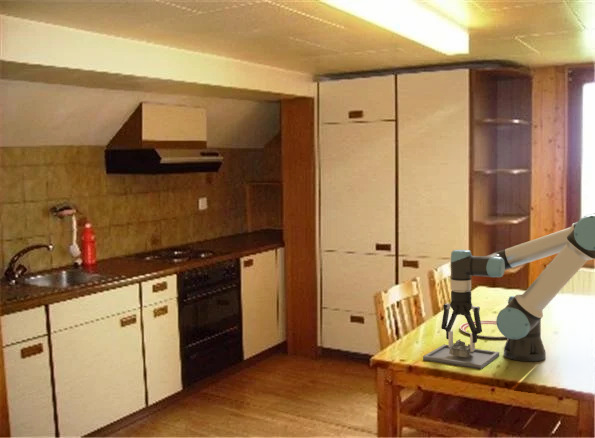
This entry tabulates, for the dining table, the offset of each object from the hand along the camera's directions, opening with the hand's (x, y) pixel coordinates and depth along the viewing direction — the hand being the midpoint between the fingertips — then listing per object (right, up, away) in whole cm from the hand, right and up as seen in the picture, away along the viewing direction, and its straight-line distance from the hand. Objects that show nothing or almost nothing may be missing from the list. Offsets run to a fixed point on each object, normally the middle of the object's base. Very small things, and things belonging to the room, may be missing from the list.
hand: (461, 349), depth 238 cm
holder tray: (0, -3, 0) cm, 3 cm away
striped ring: (+23, -1, +36) cm, 43 cm away
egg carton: (-2, -3, +2) cm, 4 cm away
